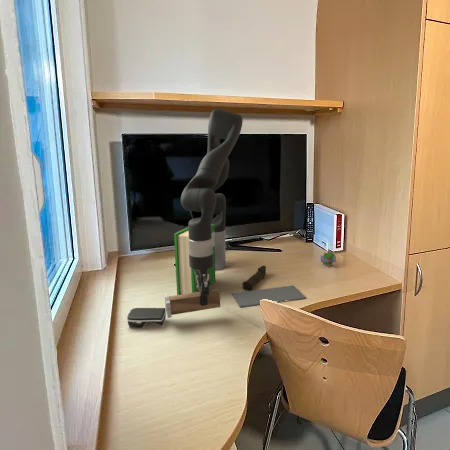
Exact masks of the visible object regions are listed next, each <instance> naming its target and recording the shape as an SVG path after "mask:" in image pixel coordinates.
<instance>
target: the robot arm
mask: <svg viewBox="0 0 450 450" xmlns="http://www.w3.org/2000/svg"><path fill="white" fill-rule="evenodd" d="M242 127H243V116H242V115H241V114H239V113H236V112H233V111H228V110H225V109H221V108H214V109H213V110H212V111H211V112H210V115H209V120H208V125H207V152H206V155H204V157H203V158H202V160H200V163H199V166H198V168H197V171H196V173H195V175H194V176H192V179H191V180H190V181H189V182H188V183H187V185H186V186H185V187H184V188H183V191H182V193H181V196H180V205H181V206H182V208H183V209H184V210H185V211H188V212H198V213H199V212H200V213H201V216H200V217H196V218H192V219H190V220H189V221H188V225H187V227H188V232H189V244H188V248H189V266H190V267H191V268H192V269H194V270H195V277H196V285H197V289H199V290H198V292H200V293H199V294H200V304H201V306H205V305H207V304H208V300H207V295H209V290H211V289H210V287H211V285H210V281H209V273H207V270H208V269H209V268H211V267H212V266H213V244H212V233H211V224H214V234H215V271H220V270H223V269H225V268H226V267H227V264H226V262H227V261H226V258H227V257H226V211H227V210H226V209H227V204H226V203H227V201H226V196H225V194H223V193H215V192H216V191H217V190H218V189H219V188H220V187H221V186H223V184H225V182H226V181H227V179H228V177H229V170H230V160H229V158H228V157H229V156H230V154H231V152H232V151H233V150H234V149H233V148H234V147H235V145H236V143H237V141H238V139H239V137H240V134H241V131H242ZM220 139H222V140H224V141H223V142H222V143H221V141H220ZM214 216H215V217H214Z"/></svg>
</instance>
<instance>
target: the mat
mask: <svg viewBox="0 0 450 450" xmlns="http://www.w3.org/2000/svg"><path fill="white" fill-rule="evenodd" d="M231 295H232V297H233V299H234V300H235V302H236V303H237V305H238V306H239V308H246V307H255V306H261V305H260V300H262V299H268V300H272V301H278V303H281V302H280V301H285V300H293V301H295V300H294V299H300V300H306V299H307V297H306V296H305V295H304V294H303V293H302V292H301V291H300V290H299V289H298V288H297V287H296V286H295V285H287V286H278V287H269V288H263V289H252V290H251V291H247V290H244V291H236V292H232V293H231ZM305 298H306V299H305Z"/></svg>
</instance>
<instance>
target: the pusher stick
mask: <svg viewBox="0 0 450 450" xmlns="http://www.w3.org/2000/svg"><path fill="white" fill-rule="evenodd" d="M199 293H200V292H195V293H188V294H181V295H177V294H176V295H171V296H169V294H164V296H163V297H164V304H165V309H166V317H167V319H171V318H172V316H173V315H180V314H185V313H192V312H198V311H205V310H212V309H216V308H221V293H220V290H219V289H218V288H216V289H209V295H207V300H208V304H207V305H205V306H201V304H200V294H199Z"/></svg>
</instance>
